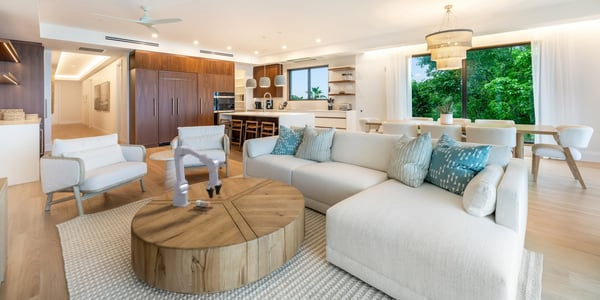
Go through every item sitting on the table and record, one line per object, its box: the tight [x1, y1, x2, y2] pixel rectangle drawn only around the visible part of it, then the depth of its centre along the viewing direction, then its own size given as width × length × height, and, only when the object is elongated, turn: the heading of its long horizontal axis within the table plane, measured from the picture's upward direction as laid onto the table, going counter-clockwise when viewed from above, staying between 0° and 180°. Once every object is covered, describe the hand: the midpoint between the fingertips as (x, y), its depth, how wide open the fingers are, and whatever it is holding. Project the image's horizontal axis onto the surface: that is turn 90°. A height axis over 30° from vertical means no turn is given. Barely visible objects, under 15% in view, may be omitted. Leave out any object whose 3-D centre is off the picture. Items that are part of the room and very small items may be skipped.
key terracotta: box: [205, 201, 212, 207], centre depth 205 cm, size 3×3×3 cm
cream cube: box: [195, 199, 202, 206], centre depth 208 cm, size 3×3×3 cm
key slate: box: [200, 200, 207, 207], centre depth 207 cm, size 3×3×3 cm
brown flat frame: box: [193, 205, 214, 212], centre depth 207 cm, size 12×7×1 cm, turn 72°
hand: (214, 196), depth 204 cm, fingers open, 7 cm apart
